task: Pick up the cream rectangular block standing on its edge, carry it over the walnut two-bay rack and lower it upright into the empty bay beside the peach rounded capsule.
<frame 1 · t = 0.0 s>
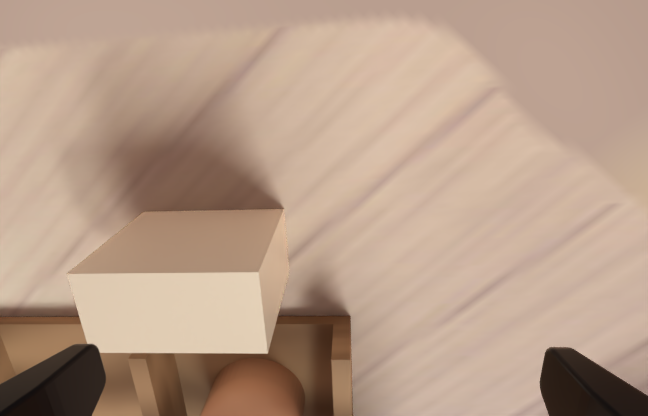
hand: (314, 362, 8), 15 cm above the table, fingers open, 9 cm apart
peach rounded capsule: (258, 395, 27), point 1 cm above the table, touching rack
cream rectangular block: (218, 242, 24), on the table
rack: (180, 385, 28), on the table
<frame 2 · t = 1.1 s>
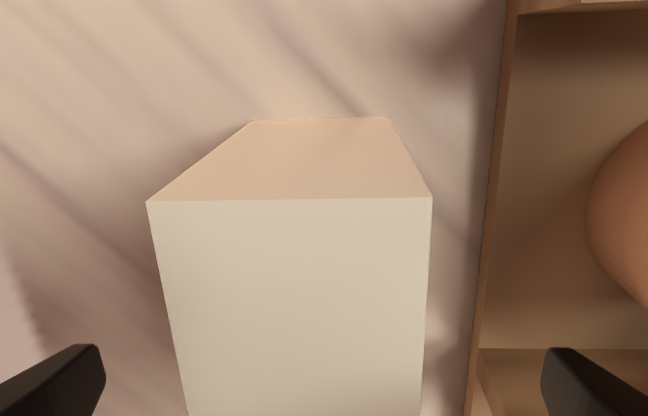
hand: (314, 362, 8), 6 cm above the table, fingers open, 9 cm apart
cream rectangular block: (324, 241, 14), on the table
rack: (634, 345, 14), on the table
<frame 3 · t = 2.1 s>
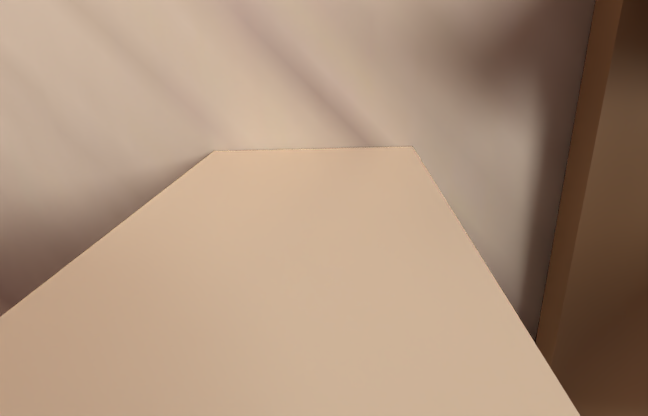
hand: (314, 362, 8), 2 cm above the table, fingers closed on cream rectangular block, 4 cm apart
cream rectangular block: (319, 316, 10), on the table, touching gripper
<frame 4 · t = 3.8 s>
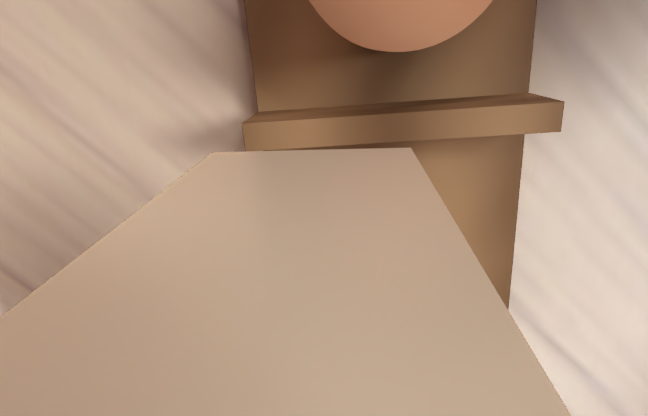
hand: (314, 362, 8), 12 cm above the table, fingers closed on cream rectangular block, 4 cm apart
cream rectangular block: (318, 317, 10), point 10 cm above the table, touching gripper
rack: (388, 112, 18), on the table
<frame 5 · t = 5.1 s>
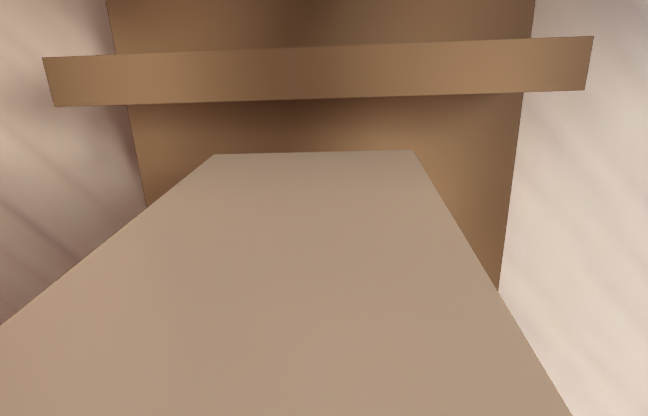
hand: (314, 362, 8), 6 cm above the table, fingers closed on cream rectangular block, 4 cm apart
cream rectangular block: (319, 319, 10), point 4 cm above the table, touching gripper
rack: (319, 65, 12), on the table
when the fingers open (4 cm above the table, at t = 5.8 s): cream rectangular block drops 2 cm, resting on rack.
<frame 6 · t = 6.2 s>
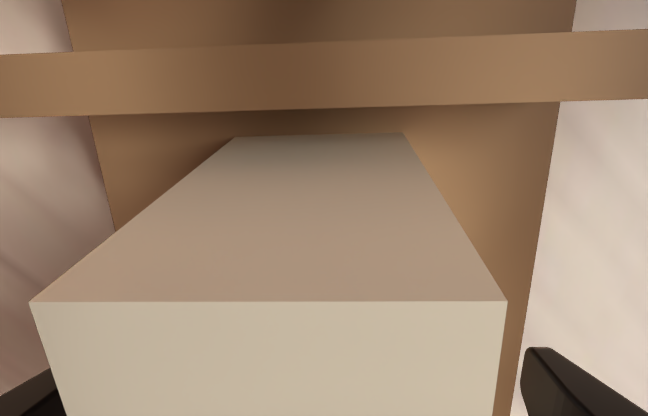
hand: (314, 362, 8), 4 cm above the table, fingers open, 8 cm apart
cream rectangular block: (324, 281, 11), point 1 cm above the table, touching rack
rack: (316, 66, 10), on the table
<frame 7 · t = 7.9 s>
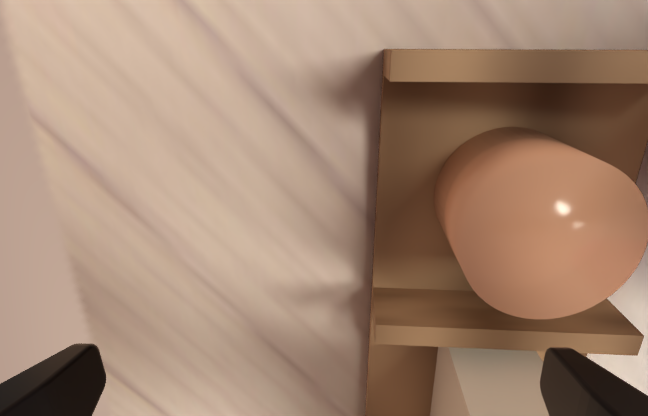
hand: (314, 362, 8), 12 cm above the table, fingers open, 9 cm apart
peach rounded capsule: (502, 194, 19), point 1 cm above the table, touching rack
cream rectangular block: (471, 387, 23), point 1 cm above the table, touching rack
rack: (480, 291, 21), on the table
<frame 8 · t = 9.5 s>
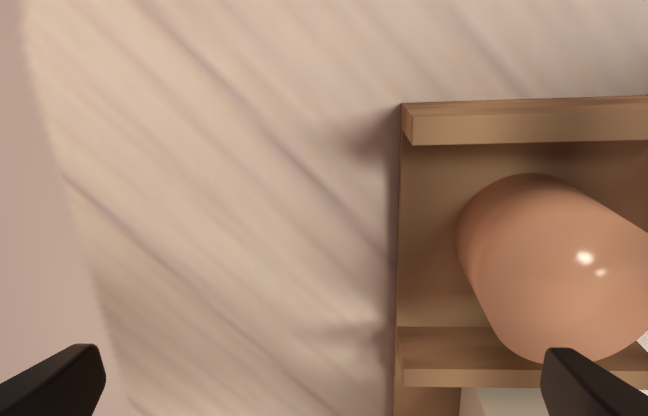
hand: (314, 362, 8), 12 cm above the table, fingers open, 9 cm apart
peach rounded capsule: (520, 235, 19), point 1 cm above the table, touching rack
rack: (501, 325, 22), on the table
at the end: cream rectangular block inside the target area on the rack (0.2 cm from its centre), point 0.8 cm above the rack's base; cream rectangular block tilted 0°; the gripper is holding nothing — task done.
